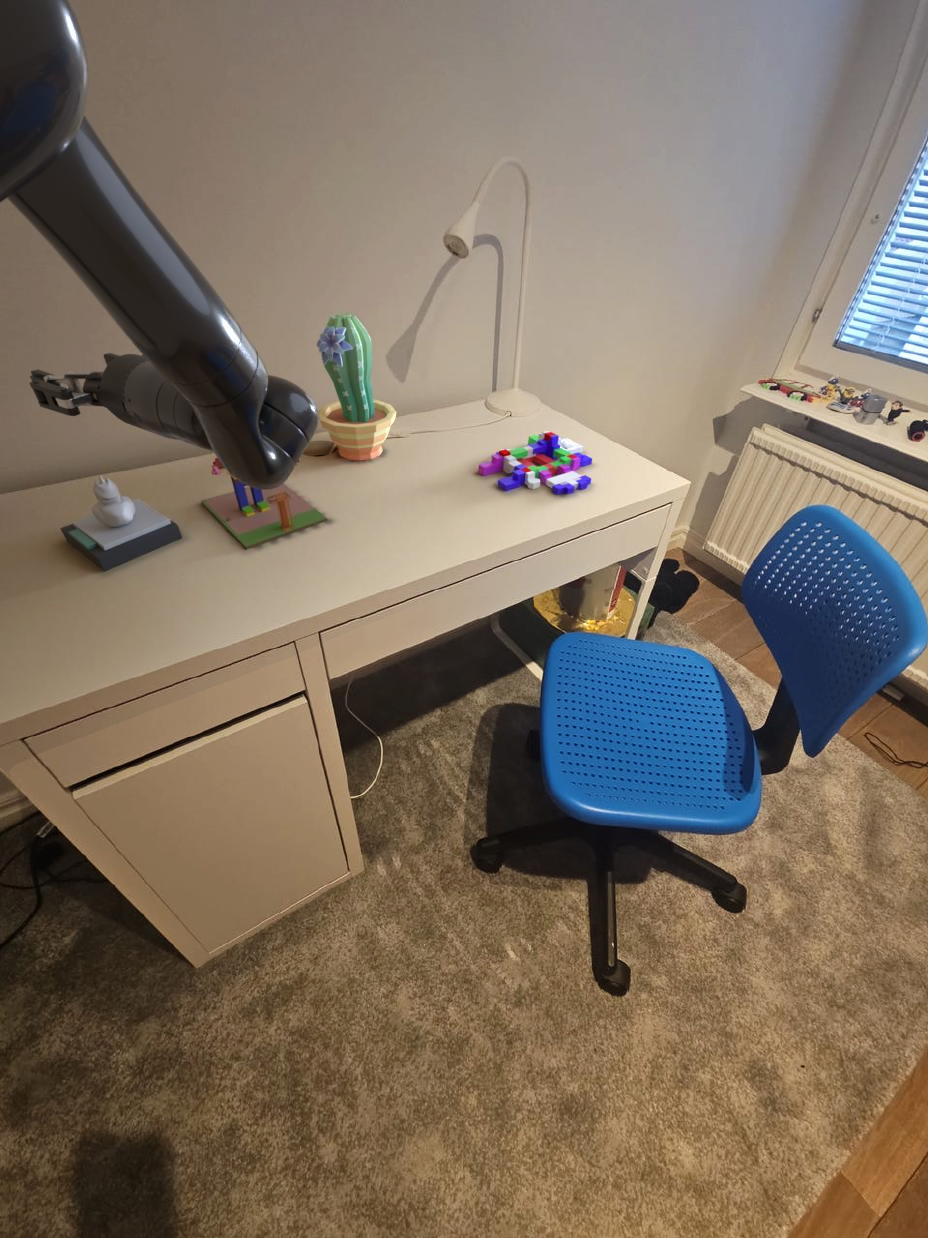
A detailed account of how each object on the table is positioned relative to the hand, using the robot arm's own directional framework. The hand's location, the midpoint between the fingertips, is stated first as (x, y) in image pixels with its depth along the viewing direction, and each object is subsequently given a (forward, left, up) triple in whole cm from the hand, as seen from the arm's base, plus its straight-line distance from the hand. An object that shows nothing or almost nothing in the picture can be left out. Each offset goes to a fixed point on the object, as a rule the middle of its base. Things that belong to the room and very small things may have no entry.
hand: (74, 370), depth 64 cm
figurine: (+18, -3, -26) cm, 32 cm away
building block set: (+65, -30, -26) cm, 76 cm away
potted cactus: (+46, +3, -26) cm, 53 cm away
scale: (-1, +6, -26) cm, 27 cm away
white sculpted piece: (-1, +6, -23) cm, 24 cm away
